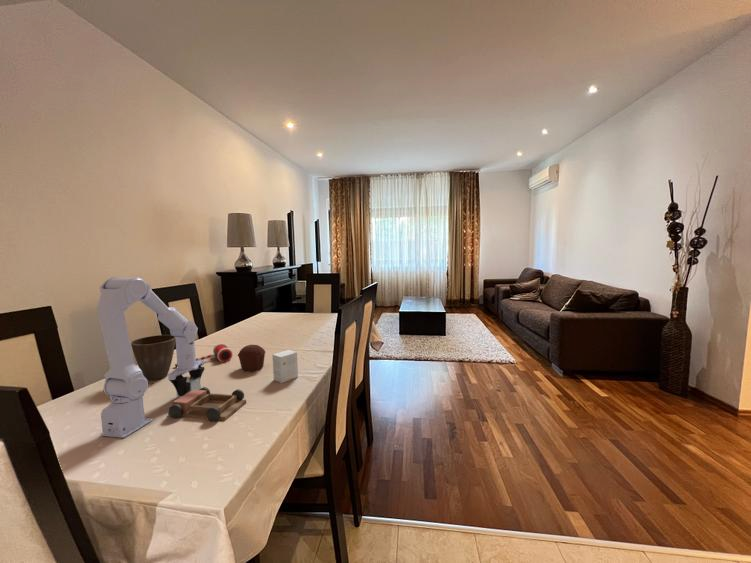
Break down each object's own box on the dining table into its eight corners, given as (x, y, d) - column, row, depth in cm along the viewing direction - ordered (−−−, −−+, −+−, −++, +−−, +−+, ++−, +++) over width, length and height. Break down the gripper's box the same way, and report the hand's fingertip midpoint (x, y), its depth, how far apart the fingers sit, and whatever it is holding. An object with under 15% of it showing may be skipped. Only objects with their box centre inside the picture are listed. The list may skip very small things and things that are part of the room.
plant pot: (161, 368, 141) (158, 333, 139) (186, 372, 136) (183, 335, 134) (125, 382, 127) (121, 342, 125) (152, 386, 122) (148, 346, 120)
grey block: (191, 398, 111) (190, 382, 111) (176, 397, 112) (175, 381, 112) (201, 393, 116) (199, 377, 115) (186, 392, 117) (185, 376, 116)
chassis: (222, 422, 95) (222, 409, 95) (165, 417, 99) (163, 405, 99) (248, 401, 109) (247, 389, 108) (196, 397, 112) (195, 386, 112)
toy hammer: (176, 372, 137) (175, 358, 137) (174, 364, 147) (173, 351, 146) (233, 360, 151) (232, 347, 150) (227, 354, 160) (226, 342, 160)
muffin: (271, 365, 142) (270, 344, 141) (252, 374, 133) (250, 351, 132) (253, 362, 148) (252, 341, 147) (232, 370, 138) (231, 347, 137)
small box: (290, 373, 133) (289, 349, 132) (298, 377, 129) (297, 351, 128) (273, 380, 127) (271, 354, 126) (281, 383, 123) (280, 357, 122)
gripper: (180, 362, 105) (183, 401, 106) (210, 348, 119) (212, 383, 120) (161, 361, 106) (164, 400, 107) (193, 348, 120) (196, 382, 122)
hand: (188, 391), depth 114 cm, fingers open, 6 cm apart
